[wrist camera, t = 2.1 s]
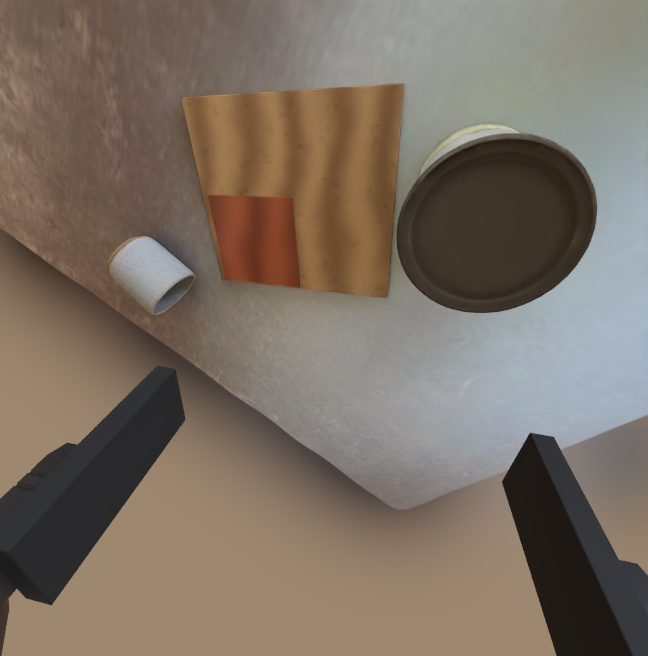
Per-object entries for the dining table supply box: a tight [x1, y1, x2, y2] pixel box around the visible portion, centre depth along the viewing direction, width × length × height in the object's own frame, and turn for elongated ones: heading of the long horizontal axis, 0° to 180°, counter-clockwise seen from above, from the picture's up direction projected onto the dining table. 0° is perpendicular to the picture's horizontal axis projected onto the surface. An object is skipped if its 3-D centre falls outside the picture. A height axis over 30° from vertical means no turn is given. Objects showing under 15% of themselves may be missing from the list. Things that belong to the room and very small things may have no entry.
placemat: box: [181, 84, 404, 298], centre depth 36 cm, size 22×20×1 cm
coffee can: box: [397, 123, 597, 313], centre depth 25 cm, size 10×10×14 cm
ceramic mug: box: [108, 236, 196, 315], centre depth 44 cm, size 11×8×8 cm
